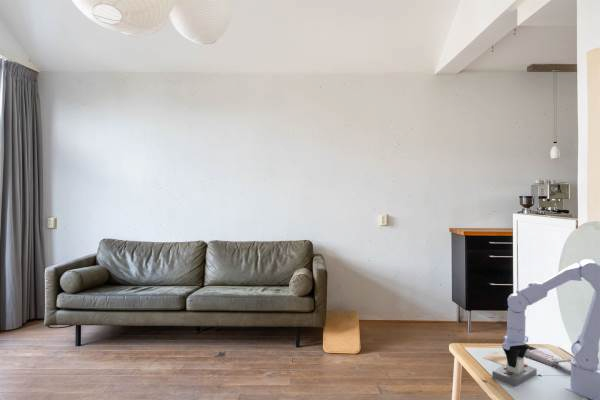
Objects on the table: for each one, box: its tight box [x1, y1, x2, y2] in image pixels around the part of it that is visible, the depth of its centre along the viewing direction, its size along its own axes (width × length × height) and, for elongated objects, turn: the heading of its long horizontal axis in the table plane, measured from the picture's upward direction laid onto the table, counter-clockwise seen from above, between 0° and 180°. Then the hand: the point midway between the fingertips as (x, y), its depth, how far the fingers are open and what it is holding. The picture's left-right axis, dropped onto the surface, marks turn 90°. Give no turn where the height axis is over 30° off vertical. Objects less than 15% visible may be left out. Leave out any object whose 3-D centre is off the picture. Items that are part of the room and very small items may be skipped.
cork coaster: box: [483, 351, 507, 366], centre depth 151 cm, size 10×10×1 cm
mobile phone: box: [524, 345, 574, 367], centre depth 152 cm, size 6×6×25 cm
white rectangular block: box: [507, 357, 525, 375], centre depth 137 cm, size 4×4×6 cm
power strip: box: [492, 362, 538, 387], centre depth 137 cm, size 16×8×4 cm, turn 126°
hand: (515, 365), depth 137 cm, fingers closed on white rectangular block, 4 cm apart
